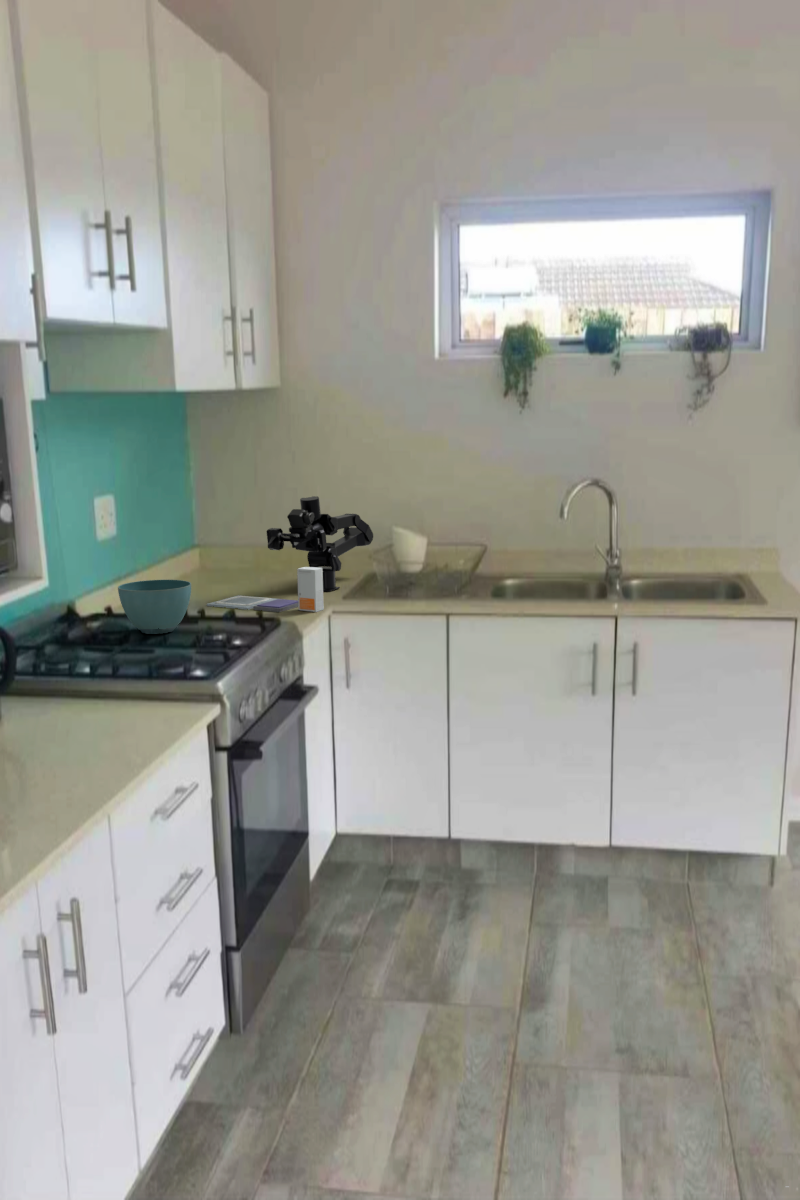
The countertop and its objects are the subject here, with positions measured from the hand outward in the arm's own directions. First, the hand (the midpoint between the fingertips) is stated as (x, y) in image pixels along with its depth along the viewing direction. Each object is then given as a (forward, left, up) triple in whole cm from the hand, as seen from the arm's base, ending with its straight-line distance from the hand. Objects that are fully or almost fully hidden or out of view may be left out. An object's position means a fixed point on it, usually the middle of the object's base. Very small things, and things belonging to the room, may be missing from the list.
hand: (282, 547), depth 298 cm
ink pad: (+5, +2, -17) cm, 17 cm away
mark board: (+4, -12, -17) cm, 21 cm away
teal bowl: (+45, -8, -17) cm, 48 cm away
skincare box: (+5, +13, -17) cm, 22 cm away
